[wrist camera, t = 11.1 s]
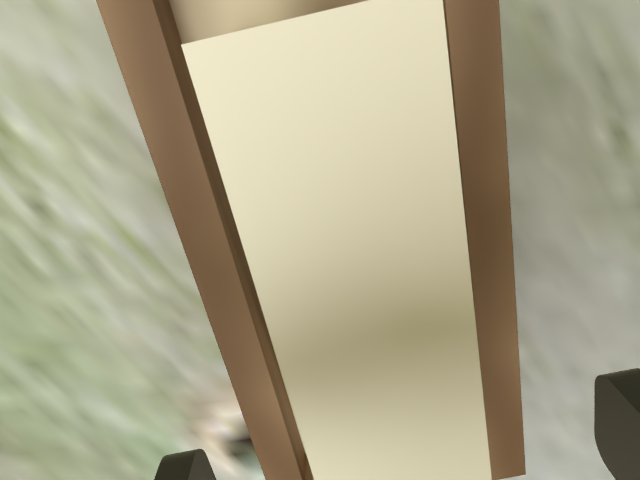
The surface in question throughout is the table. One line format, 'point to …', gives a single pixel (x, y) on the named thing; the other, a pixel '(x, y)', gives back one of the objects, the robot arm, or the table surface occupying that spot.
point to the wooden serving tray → (221, 231)
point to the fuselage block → (355, 231)
